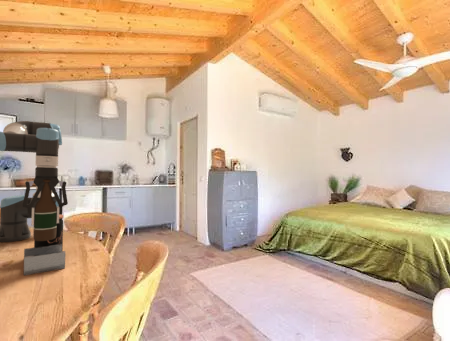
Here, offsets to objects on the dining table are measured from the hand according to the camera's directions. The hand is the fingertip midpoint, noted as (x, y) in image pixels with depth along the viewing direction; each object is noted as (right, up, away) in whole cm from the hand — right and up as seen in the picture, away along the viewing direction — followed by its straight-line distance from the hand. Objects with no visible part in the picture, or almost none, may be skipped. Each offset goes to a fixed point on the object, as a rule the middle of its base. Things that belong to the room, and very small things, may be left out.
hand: (45, 223), depth 105 cm
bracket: (-1, -17, 0) cm, 17 cm away
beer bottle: (0, -6, 0) cm, 6 cm away
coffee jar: (-7, -17, +12) cm, 22 cm away
